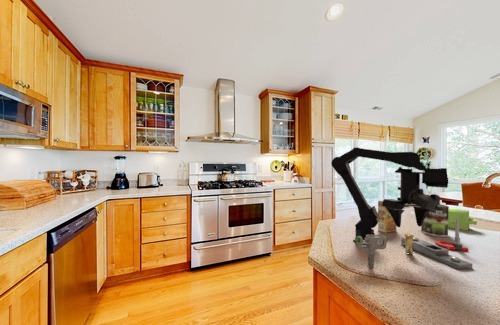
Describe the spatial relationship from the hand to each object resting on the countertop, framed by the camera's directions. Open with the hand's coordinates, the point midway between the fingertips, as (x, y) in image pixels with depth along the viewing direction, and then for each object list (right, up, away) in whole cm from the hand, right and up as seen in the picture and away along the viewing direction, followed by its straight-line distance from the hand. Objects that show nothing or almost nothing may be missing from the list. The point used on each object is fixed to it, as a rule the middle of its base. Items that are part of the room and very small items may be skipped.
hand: (409, 226), depth 77 cm
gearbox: (+52, -12, +36) cm, 64 cm away
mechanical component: (-21, -10, -11) cm, 25 cm away
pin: (0, -10, 0) cm, 10 cm away
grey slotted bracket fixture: (+8, -10, -1) cm, 13 cm away
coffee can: (+31, -11, +24) cm, 41 cm away
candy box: (+10, -11, +27) cm, 30 cm away
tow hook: (+23, -11, +8) cm, 27 cm away
